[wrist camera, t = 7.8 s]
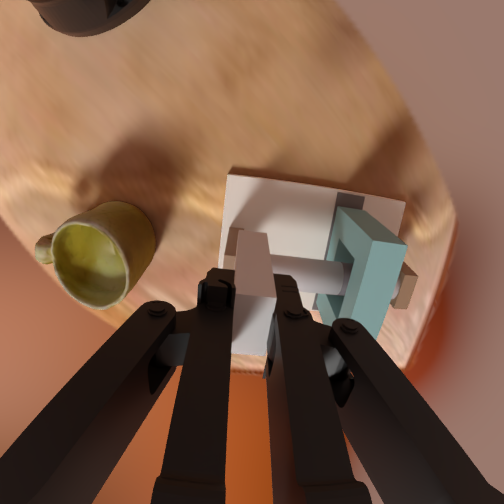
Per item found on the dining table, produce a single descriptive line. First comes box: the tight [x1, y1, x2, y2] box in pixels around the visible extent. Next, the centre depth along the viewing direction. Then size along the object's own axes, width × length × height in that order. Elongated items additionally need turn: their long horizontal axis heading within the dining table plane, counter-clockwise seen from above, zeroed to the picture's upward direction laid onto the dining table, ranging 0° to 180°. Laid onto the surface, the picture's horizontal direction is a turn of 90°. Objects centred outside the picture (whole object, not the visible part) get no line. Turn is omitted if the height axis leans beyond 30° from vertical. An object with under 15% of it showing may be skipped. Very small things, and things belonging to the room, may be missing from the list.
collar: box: [316, 206, 408, 340], centre depth 29 cm, size 3×11×10 cm, turn 173°
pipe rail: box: [218, 174, 418, 311], centre depth 31 cm, size 19×14×8 cm
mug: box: [35, 201, 156, 310], centre depth 30 cm, size 12×10×10 cm
